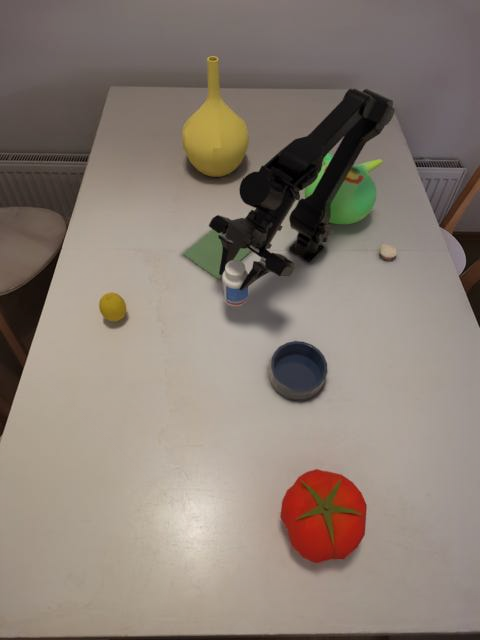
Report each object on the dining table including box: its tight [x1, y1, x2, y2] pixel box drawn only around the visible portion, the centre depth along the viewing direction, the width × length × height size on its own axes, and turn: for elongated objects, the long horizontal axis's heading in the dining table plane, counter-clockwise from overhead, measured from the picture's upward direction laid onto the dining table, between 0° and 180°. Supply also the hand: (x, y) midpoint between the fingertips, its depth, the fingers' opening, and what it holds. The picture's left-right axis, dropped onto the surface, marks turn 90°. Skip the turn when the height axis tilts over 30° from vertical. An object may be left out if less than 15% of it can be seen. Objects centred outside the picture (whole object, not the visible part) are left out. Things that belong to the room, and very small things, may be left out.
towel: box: [182, 229, 252, 281], centre depth 108 cm, size 14×12×1 cm
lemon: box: [98, 292, 127, 322], centre depth 93 cm, size 6×6×8 cm
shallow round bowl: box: [269, 340, 328, 401], centre depth 88 cm, size 11×11×4 cm
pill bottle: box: [221, 260, 249, 307], centre depth 89 cm, size 6×5×10 cm
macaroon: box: [379, 243, 398, 261], centre depth 107 cm, size 4×5×2 cm
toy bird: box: [304, 152, 384, 225], centre depth 110 cm, size 18×17×15 cm
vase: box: [181, 55, 250, 178], centre depth 114 cm, size 18×18×30 cm
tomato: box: [279, 468, 368, 564], centre depth 70 cm, size 13×14×12 cm
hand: (230, 282), depth 87 cm, fingers closed on pill bottle, 5 cm apart
